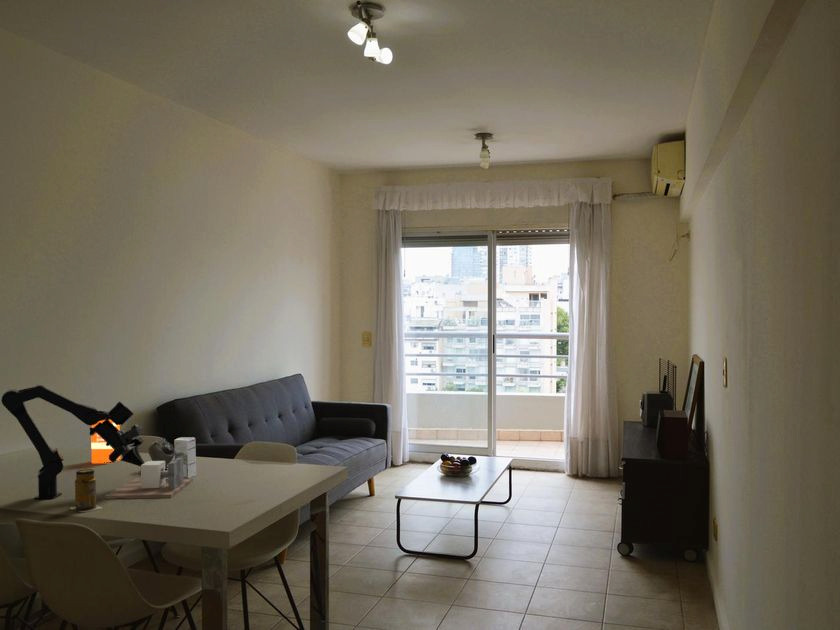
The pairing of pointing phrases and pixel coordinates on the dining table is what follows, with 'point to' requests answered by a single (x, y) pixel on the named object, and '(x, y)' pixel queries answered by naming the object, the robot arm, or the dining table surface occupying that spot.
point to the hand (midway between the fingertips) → (144, 466)
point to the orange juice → (101, 447)
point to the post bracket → (165, 491)
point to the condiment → (85, 491)
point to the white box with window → (152, 474)
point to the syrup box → (186, 455)
